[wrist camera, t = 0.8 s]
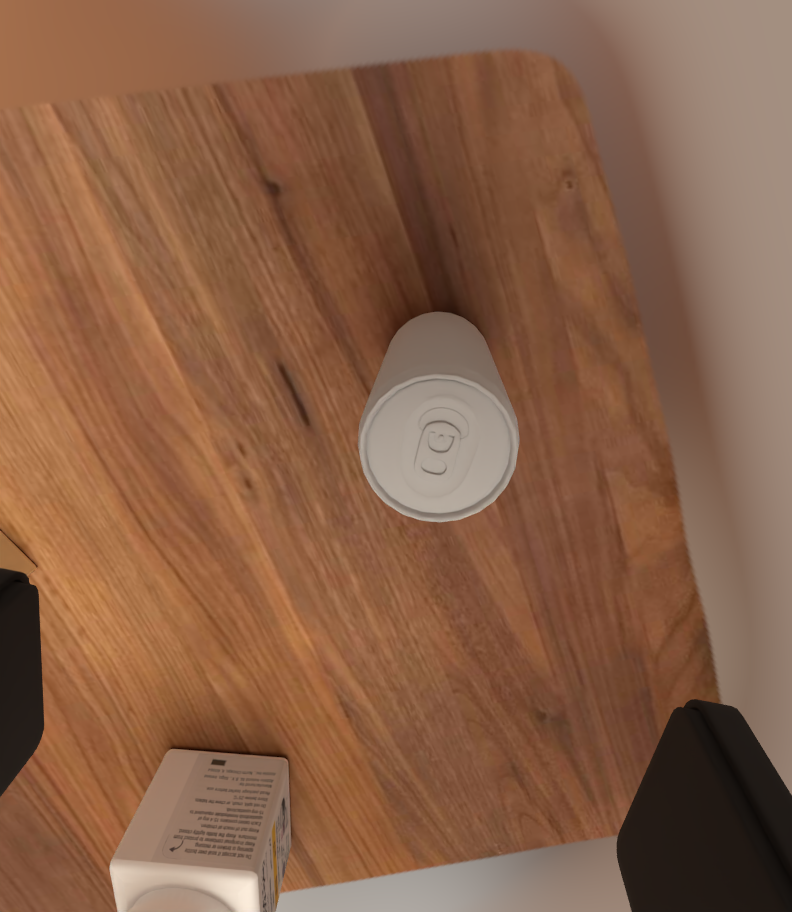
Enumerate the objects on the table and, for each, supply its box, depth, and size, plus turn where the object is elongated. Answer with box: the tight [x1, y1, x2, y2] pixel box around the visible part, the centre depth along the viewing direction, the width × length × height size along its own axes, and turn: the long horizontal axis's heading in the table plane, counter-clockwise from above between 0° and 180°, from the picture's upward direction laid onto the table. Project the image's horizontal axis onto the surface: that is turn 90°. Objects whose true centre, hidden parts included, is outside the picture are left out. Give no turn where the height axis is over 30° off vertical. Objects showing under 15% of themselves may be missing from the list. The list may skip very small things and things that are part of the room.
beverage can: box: [358, 312, 520, 522], centre depth 23 cm, size 5×5×12 cm
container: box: [109, 749, 291, 912], centre depth 34 cm, size 8×8×13 cm
